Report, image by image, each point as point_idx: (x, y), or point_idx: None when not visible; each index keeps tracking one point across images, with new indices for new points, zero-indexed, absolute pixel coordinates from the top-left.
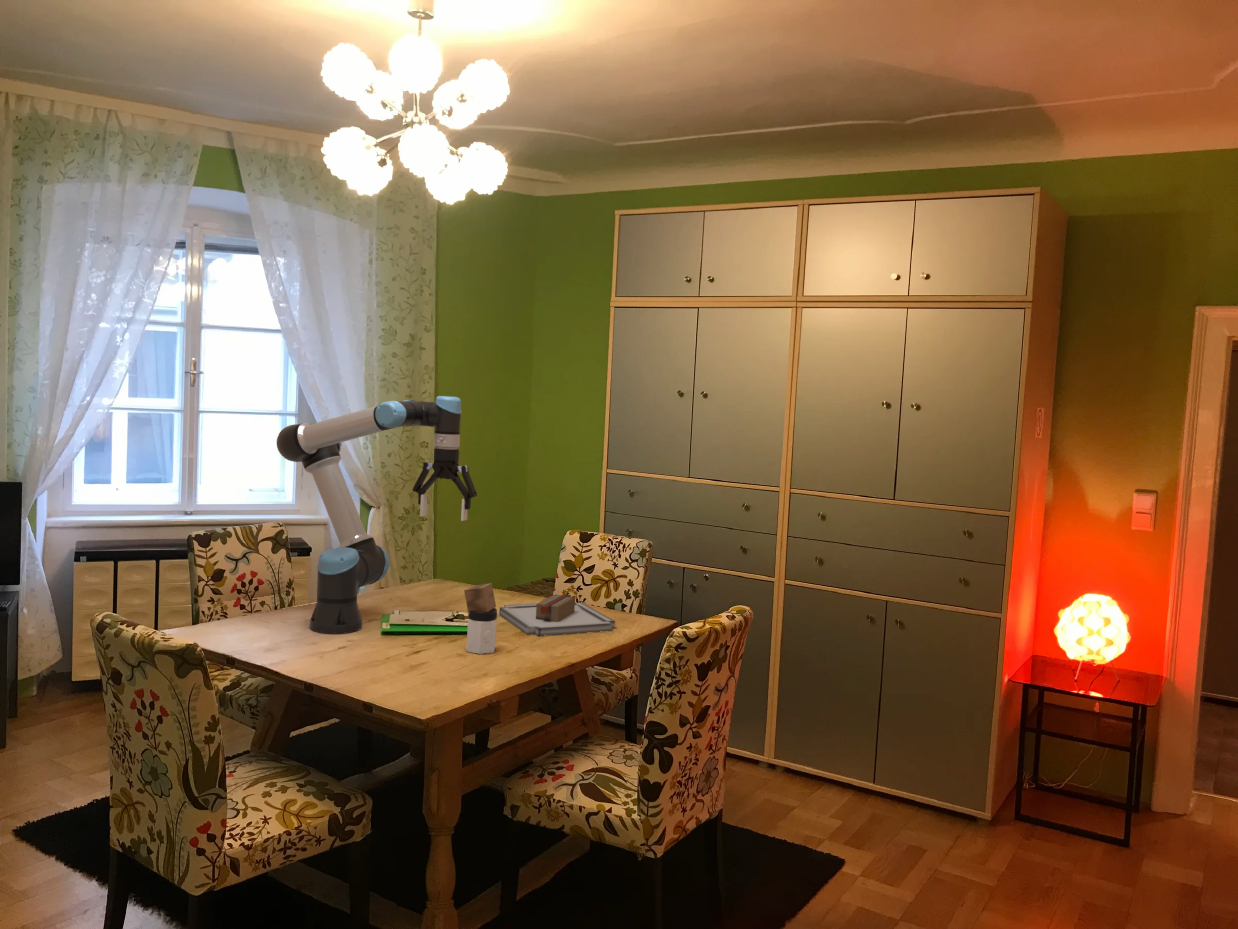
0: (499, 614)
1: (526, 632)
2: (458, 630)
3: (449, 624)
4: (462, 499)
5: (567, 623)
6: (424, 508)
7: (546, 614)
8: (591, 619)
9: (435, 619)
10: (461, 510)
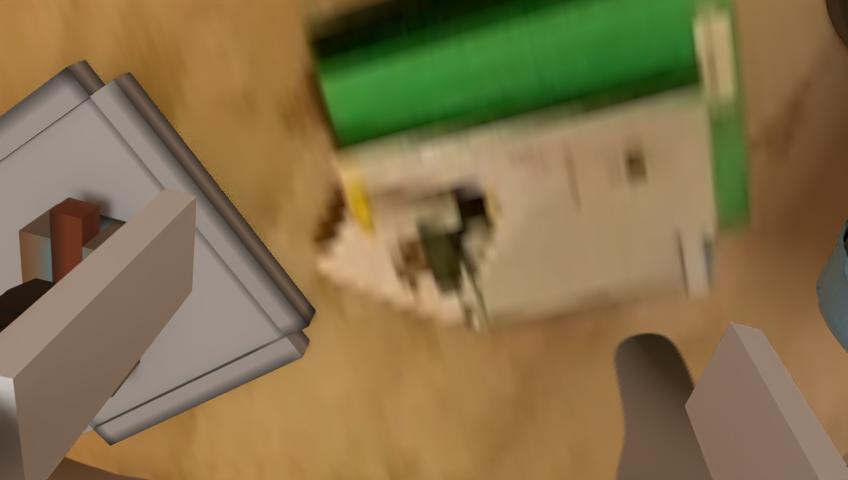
0: (313, 310)
1: (133, 83)
2: (400, 63)
3: (456, 142)
4: (9, 372)
5: (19, 197)
6: (739, 427)
7: (72, 199)
8: None
9: (526, 199)
10: (131, 260)
